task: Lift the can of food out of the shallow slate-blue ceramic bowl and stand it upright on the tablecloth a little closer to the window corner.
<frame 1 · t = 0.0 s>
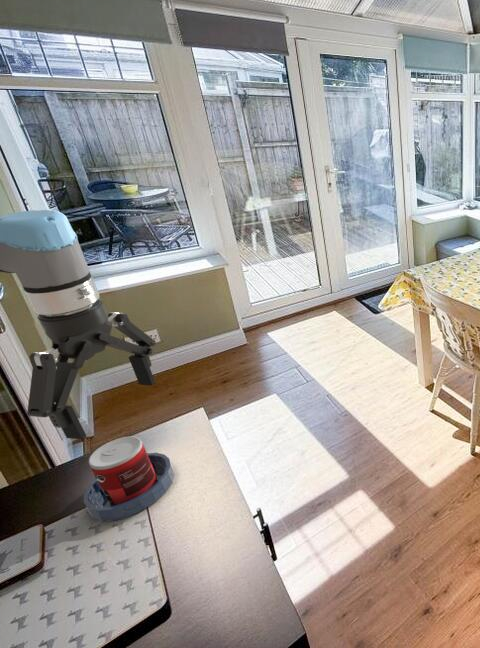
hand: (115, 408, 75), 23 cm above the table, tool pointing down, fingers open, 13 cm apart
canned food: (134, 490, 85), resting on bowl
bowl: (134, 491, 85), on the table
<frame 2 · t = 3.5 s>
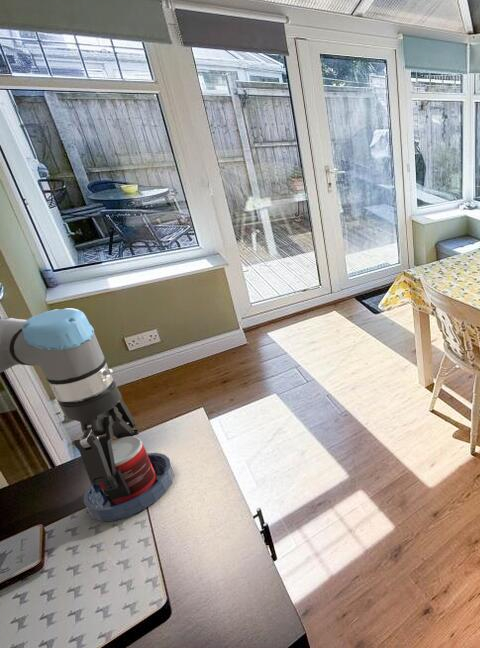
hand: (128, 478, 84), 4 cm above the table, tool pointing down, fingers closed on canned food, 8 cm apart
canned food: (134, 490, 85), resting on bowl, touching gripper
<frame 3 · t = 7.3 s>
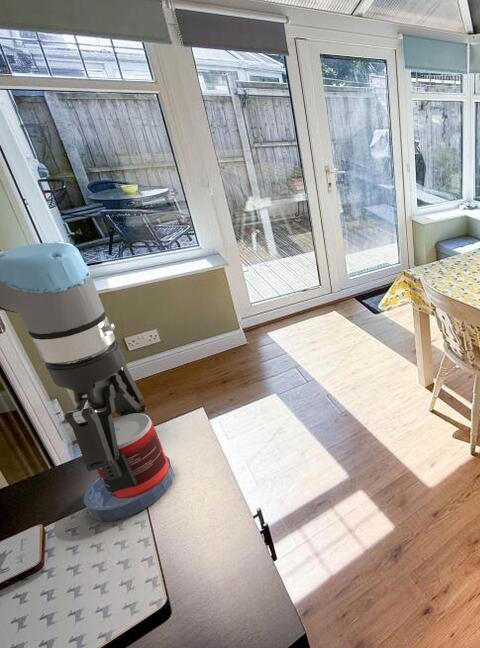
hand: (134, 465, 68), 20 cm above the table, tool pointing down, fingers closed on canned food, 8 cm apart
canned food: (141, 480, 69), point 17 cm above the table, touching gripper
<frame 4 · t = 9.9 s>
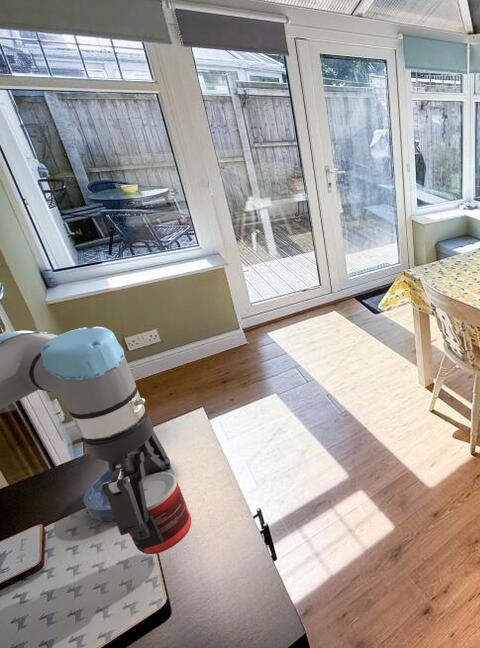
hand: (160, 521, 72), 8 cm above the table, tool pointing down, fingers closed on canned food, 8 cm apart
canned food: (166, 534, 74), point 4 cm above the table, touching gripper
when the fingers open (3 cm above the table, at t = 11.4 s): canned food stays where it is, on the table.
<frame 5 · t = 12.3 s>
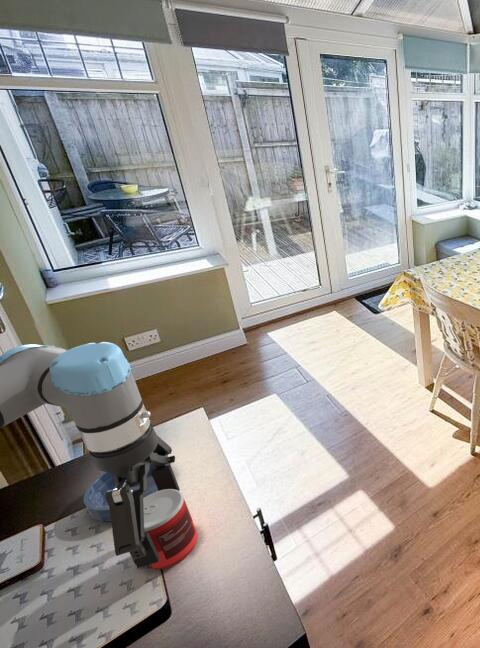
hand: (160, 525, 73), 6 cm above the table, tool pointing down, fingers open, 13 cm apart
canned food: (172, 549, 75), on the table
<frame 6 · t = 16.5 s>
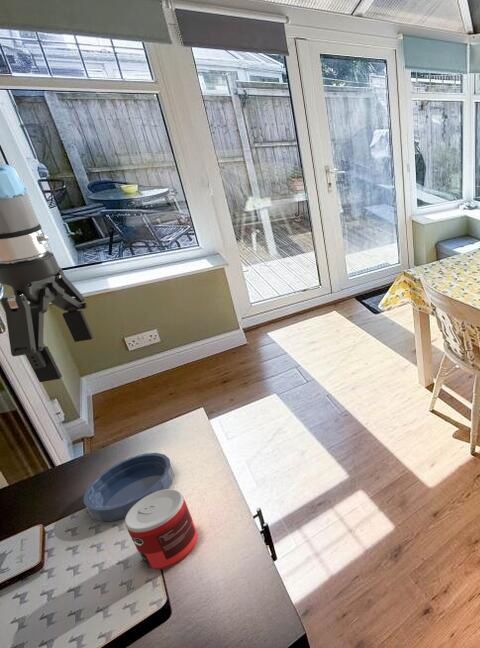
hand: (68, 358, 79), 29 cm above the table, tool pointing down, fingers open, 13 cm apart
nothing on the table moved.
at the end: canned food inside the target area (0.1 cm from its centre), on the table; canned food tilted 0°; canned food touching table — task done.
